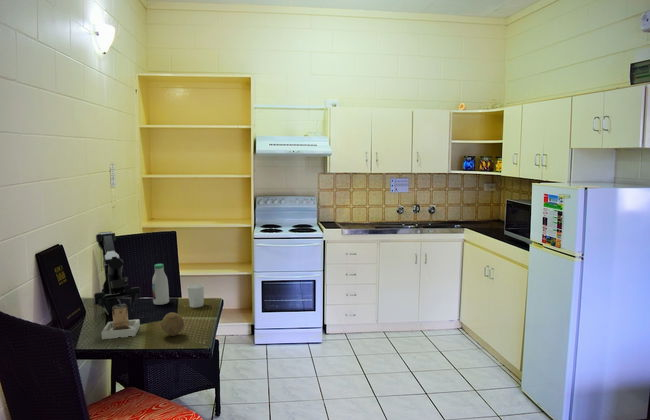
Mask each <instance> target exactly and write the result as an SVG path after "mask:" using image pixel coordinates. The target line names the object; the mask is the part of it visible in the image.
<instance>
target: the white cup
mask: <svg viewBox="0 0 650 420" xmlns="http://www.w3.org/2000/svg"><path fill="white" fill-rule="evenodd" d="M186 288H187V296H188V302H189V303H188V304H189V307H190V308H192V309H193V308H194V309H195V308H196V309H197V308H201V307H203V306H204V304H205V303H204V299H205V297H204V295H205V293H204V292H205V285H204V284H200V283H195V284H189V285H187V287H186Z"/></svg>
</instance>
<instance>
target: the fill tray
mask: <svg viewBox="0 0 650 420" xmlns="http://www.w3.org/2000/svg"><path fill="white" fill-rule="evenodd" d="M128 323H129V329H122V330H114V326H113V321H108V322H107V323H106V325H105V326H104V328H103V329H102V330H101V340H107V339H119V338H118V337H121V338H129V337H128V336H132V337H136V336H137V333H138V331H139V328H140V326H141V322H140V319H128Z"/></svg>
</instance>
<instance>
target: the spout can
mask: <svg viewBox="0 0 650 420" xmlns="http://www.w3.org/2000/svg"><path fill="white" fill-rule="evenodd" d="M111 314H112V322H113V326H114V330H122V329H129V323H128V320H129V310H128V305H127V304H126V303H121V304H117V305H114V306H113V307H112V313H111Z"/></svg>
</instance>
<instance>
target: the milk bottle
mask: <svg viewBox="0 0 650 420" xmlns="http://www.w3.org/2000/svg"><path fill="white" fill-rule="evenodd" d="M164 268H165V266H164V263H156V264H154V267H153V269H154V274H153V275H152V281H151V282H152V283H151V284H152V285H151V286H152V287H151V288H152V302H153V304H154V305H157V306H158V305H161V306H162V305H165V304H168V303H169V302H170V296H169V295H170V293H169V292H170V291H169V280H168V276H167V275H166V273H165V270H164Z"/></svg>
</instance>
